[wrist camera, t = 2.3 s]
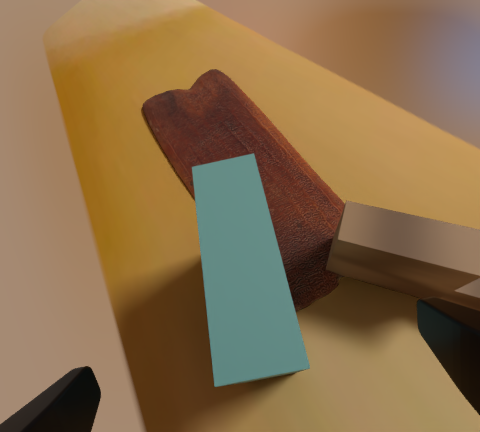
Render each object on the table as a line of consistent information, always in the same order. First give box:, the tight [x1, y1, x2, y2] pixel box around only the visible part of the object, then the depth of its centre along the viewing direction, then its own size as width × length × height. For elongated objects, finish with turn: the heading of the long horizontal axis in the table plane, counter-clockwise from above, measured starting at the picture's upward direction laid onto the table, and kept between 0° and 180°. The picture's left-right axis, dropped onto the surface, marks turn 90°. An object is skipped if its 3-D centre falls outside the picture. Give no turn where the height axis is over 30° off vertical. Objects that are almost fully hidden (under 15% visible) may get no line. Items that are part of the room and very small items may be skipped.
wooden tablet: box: [143, 69, 345, 312], centre depth 25 cm, size 27×10×2 cm, turn 29°
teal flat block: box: [192, 153, 310, 387], centre depth 15 cm, size 9×3×9 cm, turn 10°
